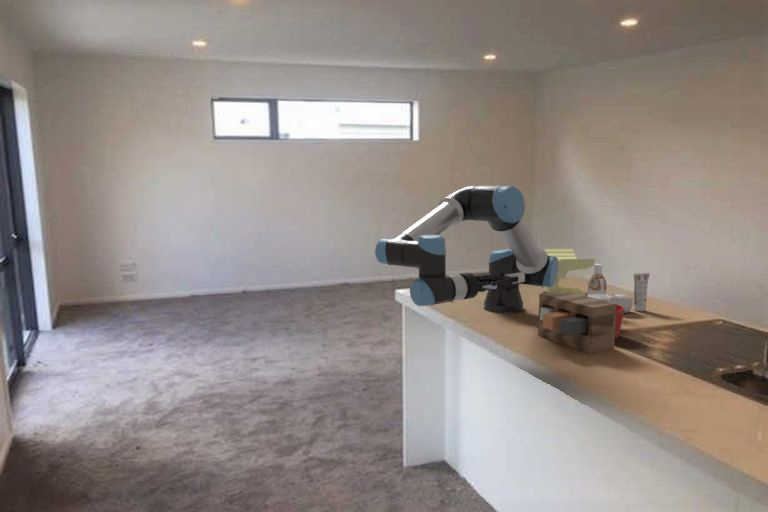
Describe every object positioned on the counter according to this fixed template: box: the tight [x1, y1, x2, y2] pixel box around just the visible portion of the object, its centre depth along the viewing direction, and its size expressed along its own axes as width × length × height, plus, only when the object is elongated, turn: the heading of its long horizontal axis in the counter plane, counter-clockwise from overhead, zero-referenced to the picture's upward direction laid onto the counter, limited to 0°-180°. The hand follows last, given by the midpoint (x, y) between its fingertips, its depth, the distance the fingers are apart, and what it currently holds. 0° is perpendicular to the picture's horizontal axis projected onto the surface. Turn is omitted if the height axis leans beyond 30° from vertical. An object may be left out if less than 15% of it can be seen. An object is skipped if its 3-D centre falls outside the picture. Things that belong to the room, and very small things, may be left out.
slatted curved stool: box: [541, 248, 596, 296], centre depth 253 cm, size 30×16×18 cm, turn 179°
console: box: [537, 291, 616, 355], centre depth 185 cm, size 22×10×14 cm, turn 29°
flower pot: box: [615, 305, 625, 339], centre depth 192 cm, size 11×11×10 cm
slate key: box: [560, 315, 589, 336], centre depth 176 cm, size 4×10×4 cm, turn 119°
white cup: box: [586, 294, 611, 302], centre depth 206 cm, size 8×8×10 cm
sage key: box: [540, 306, 554, 321], centre depth 190 cm, size 4×10×4 cm, turn 119°
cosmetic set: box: [587, 263, 651, 314], centre depth 222 cm, size 25×9×19 cm, turn 102°
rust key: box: [543, 310, 571, 330], centre depth 182 cm, size 4×10×4 cm, turn 119°
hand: (522, 277), depth 181 cm, fingers closed
